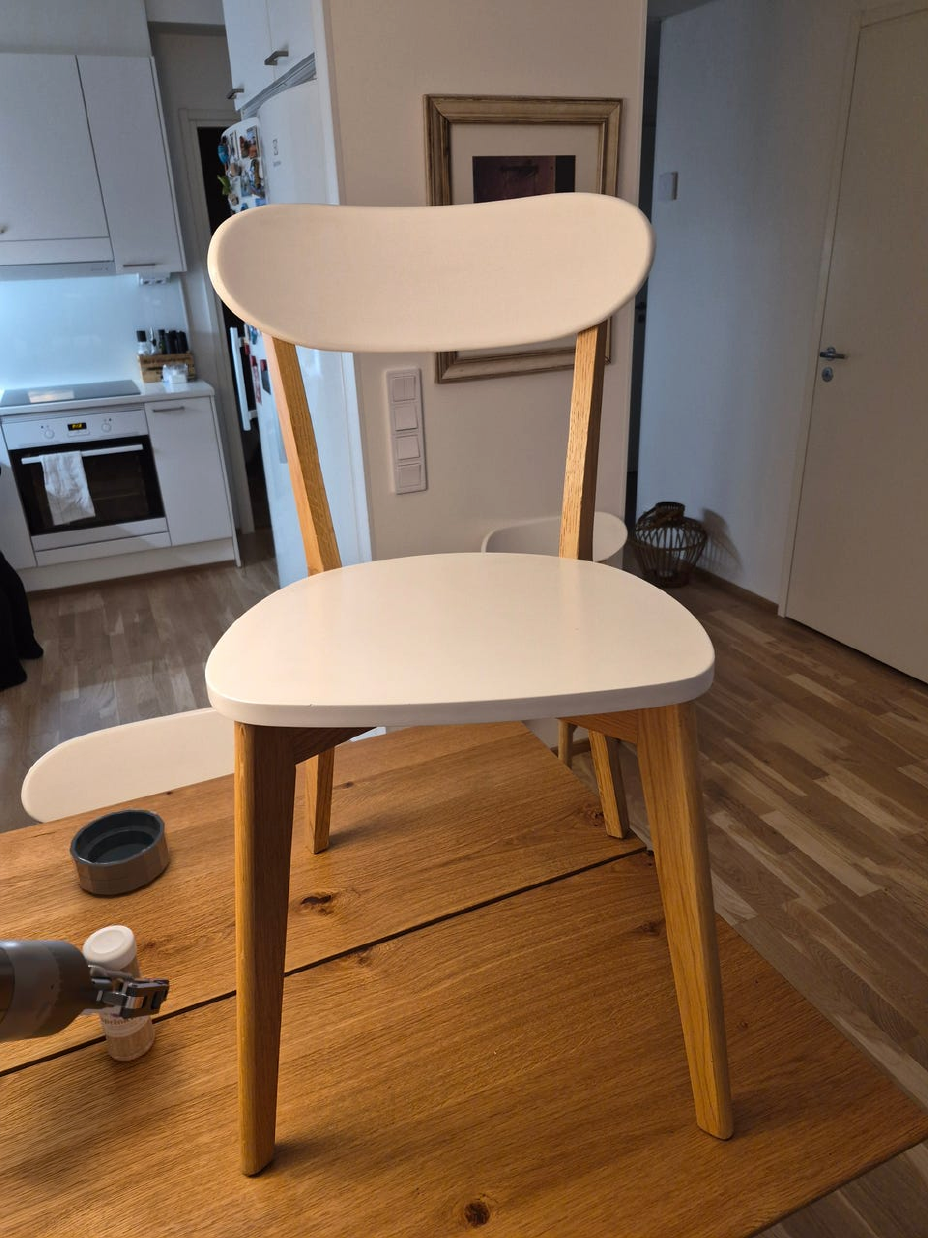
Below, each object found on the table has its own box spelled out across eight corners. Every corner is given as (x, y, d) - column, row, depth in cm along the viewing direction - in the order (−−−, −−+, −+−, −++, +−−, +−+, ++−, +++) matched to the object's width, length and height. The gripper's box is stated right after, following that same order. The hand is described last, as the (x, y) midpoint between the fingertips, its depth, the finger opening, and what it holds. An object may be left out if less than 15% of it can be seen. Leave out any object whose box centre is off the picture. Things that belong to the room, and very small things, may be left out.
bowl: (60, 896, 102) (51, 863, 100) (105, 837, 112) (97, 807, 110) (147, 900, 101) (140, 868, 99) (184, 841, 111) (178, 811, 109)
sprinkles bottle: (112, 1071, 79) (85, 967, 74) (104, 1036, 83) (77, 935, 78) (161, 1049, 82) (138, 947, 76) (151, 1016, 85) (128, 916, 80)
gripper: (106, 957, 66) (207, 957, 81) (-40, 924, 69) (82, 929, 84) (75, 1061, 63) (184, 1041, 78) (-76, 1021, 67) (57, 1009, 82)
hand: (131, 983), depth 81 cm, fingers open, 6 cm apart
